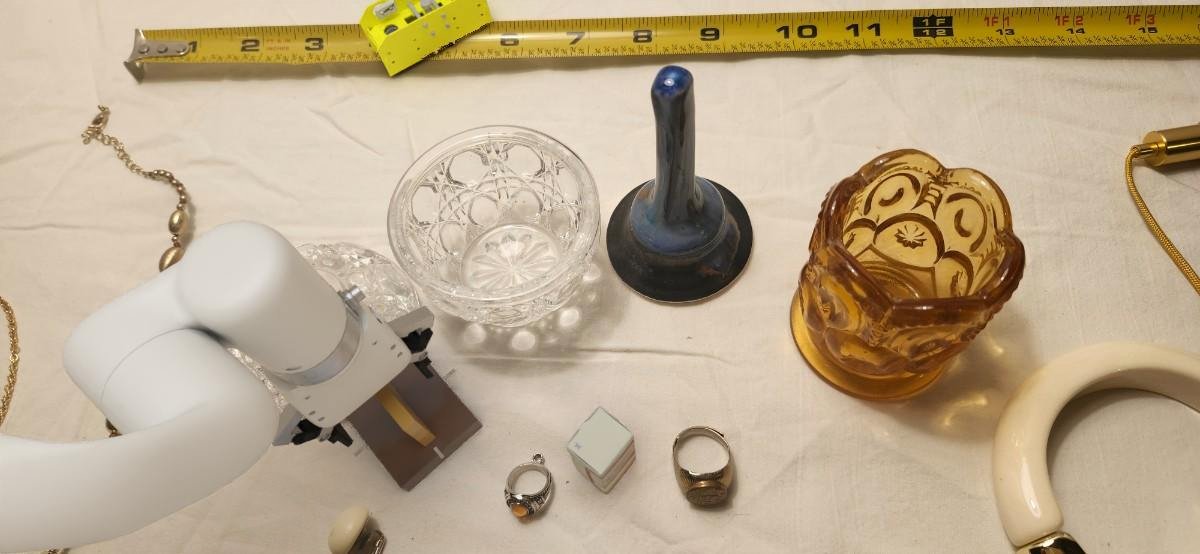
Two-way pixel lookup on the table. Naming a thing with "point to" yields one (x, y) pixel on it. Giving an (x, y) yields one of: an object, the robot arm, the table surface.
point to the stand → (433, 408)
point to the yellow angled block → (404, 414)
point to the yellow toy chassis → (419, 27)
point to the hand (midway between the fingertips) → (383, 400)
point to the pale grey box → (602, 449)
